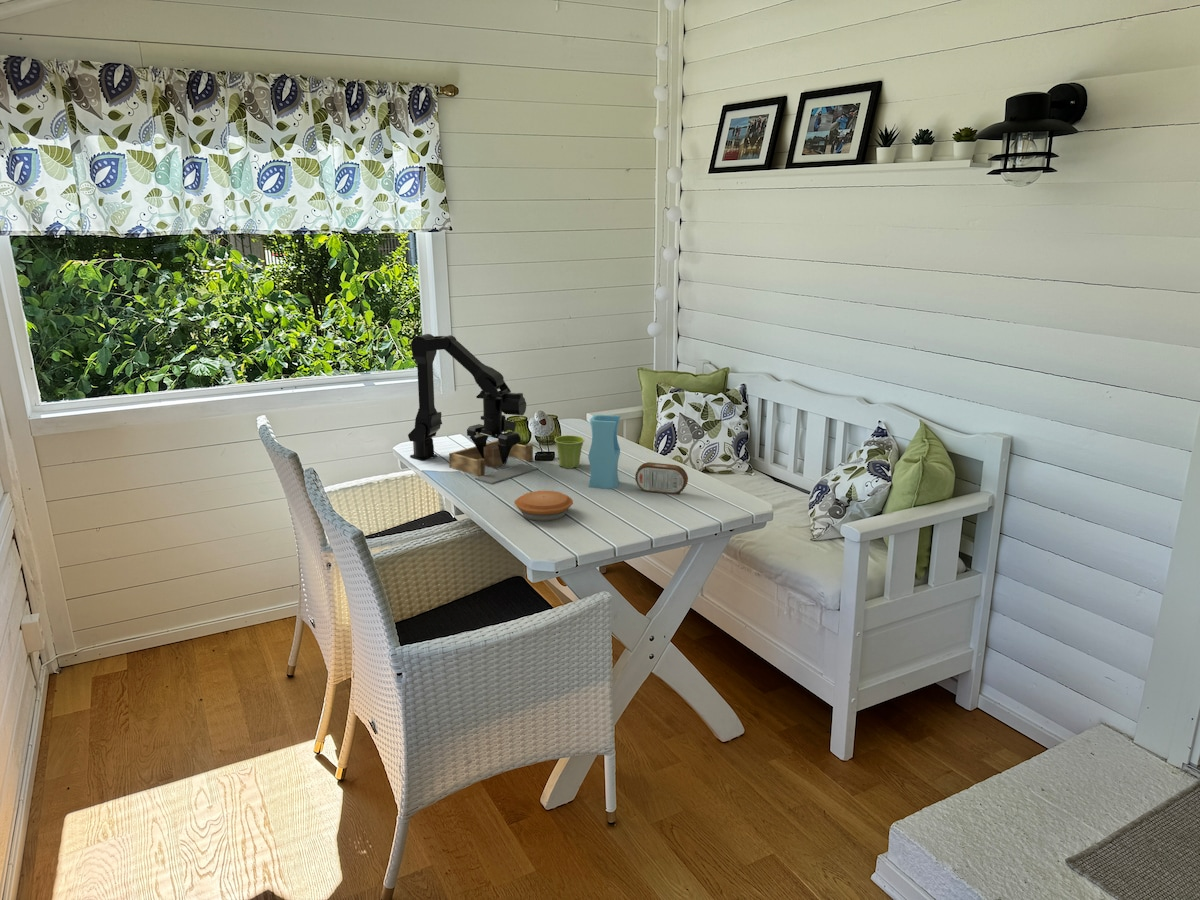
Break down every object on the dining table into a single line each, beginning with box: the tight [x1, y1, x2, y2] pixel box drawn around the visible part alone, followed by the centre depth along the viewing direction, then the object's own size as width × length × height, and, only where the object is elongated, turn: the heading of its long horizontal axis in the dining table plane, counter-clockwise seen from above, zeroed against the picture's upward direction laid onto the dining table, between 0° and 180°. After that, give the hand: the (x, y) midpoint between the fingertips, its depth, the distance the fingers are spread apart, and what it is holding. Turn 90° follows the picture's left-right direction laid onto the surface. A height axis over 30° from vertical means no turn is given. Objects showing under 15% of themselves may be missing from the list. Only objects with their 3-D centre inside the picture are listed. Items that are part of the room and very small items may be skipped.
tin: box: [634, 461, 689, 495], centre depth 251 cm, size 15×3×8 cm, turn 74°
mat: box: [474, 462, 540, 485], centre depth 268 cm, size 7×20×1 cm, turn 140°
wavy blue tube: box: [587, 414, 621, 490], centre depth 256 cm, size 8×8×20 cm
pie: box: [514, 490, 574, 522], centre depth 234 cm, size 15×16×5 cm
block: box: [484, 444, 505, 469], centre depth 276 cm, size 4×4×6 cm
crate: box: [448, 439, 534, 477], centre depth 277 cm, size 14×23×5 cm, turn 140°
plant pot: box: [554, 434, 585, 469], centre depth 275 cm, size 9×9×9 cm
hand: (494, 460), depth 277 cm, fingers open, 9 cm apart
